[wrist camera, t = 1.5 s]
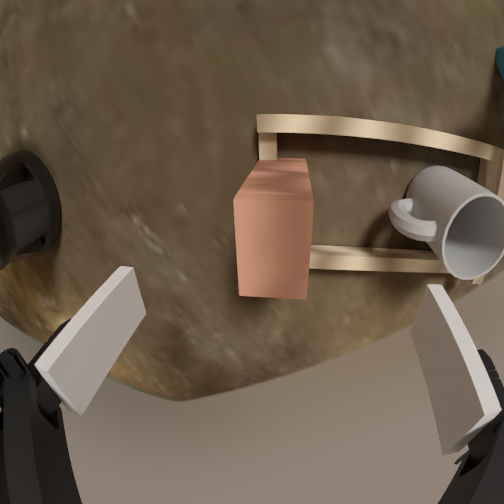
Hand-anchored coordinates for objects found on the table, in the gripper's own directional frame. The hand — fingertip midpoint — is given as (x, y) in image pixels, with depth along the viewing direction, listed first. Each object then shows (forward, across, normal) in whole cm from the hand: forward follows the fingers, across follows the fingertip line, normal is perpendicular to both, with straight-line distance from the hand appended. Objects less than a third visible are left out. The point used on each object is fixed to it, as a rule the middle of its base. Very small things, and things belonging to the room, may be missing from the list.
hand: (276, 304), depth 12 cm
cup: (+17, +13, 0) cm, 21 cm away
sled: (+16, +9, 0) cm, 19 cm away
